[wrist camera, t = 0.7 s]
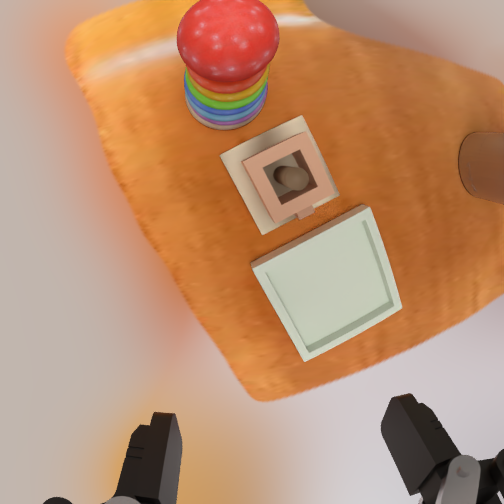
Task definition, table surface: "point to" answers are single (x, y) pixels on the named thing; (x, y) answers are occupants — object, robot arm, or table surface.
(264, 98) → the stacking toy
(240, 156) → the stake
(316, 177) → the collar
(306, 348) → the tray
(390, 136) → the table surface
